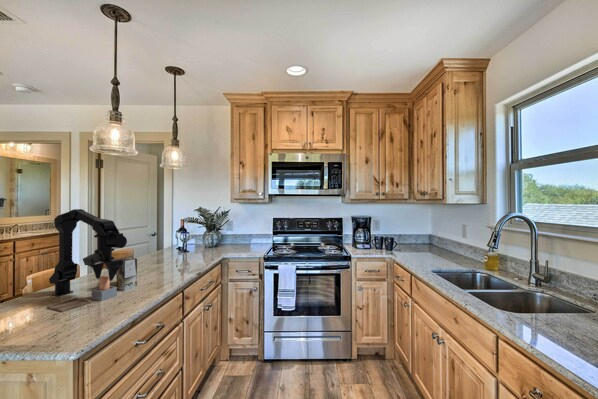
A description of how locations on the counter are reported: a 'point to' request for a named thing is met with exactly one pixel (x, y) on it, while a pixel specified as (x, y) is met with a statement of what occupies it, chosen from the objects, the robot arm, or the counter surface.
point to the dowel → (104, 283)
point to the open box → (104, 293)
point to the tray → (69, 304)
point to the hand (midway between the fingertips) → (104, 279)
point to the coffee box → (127, 274)
